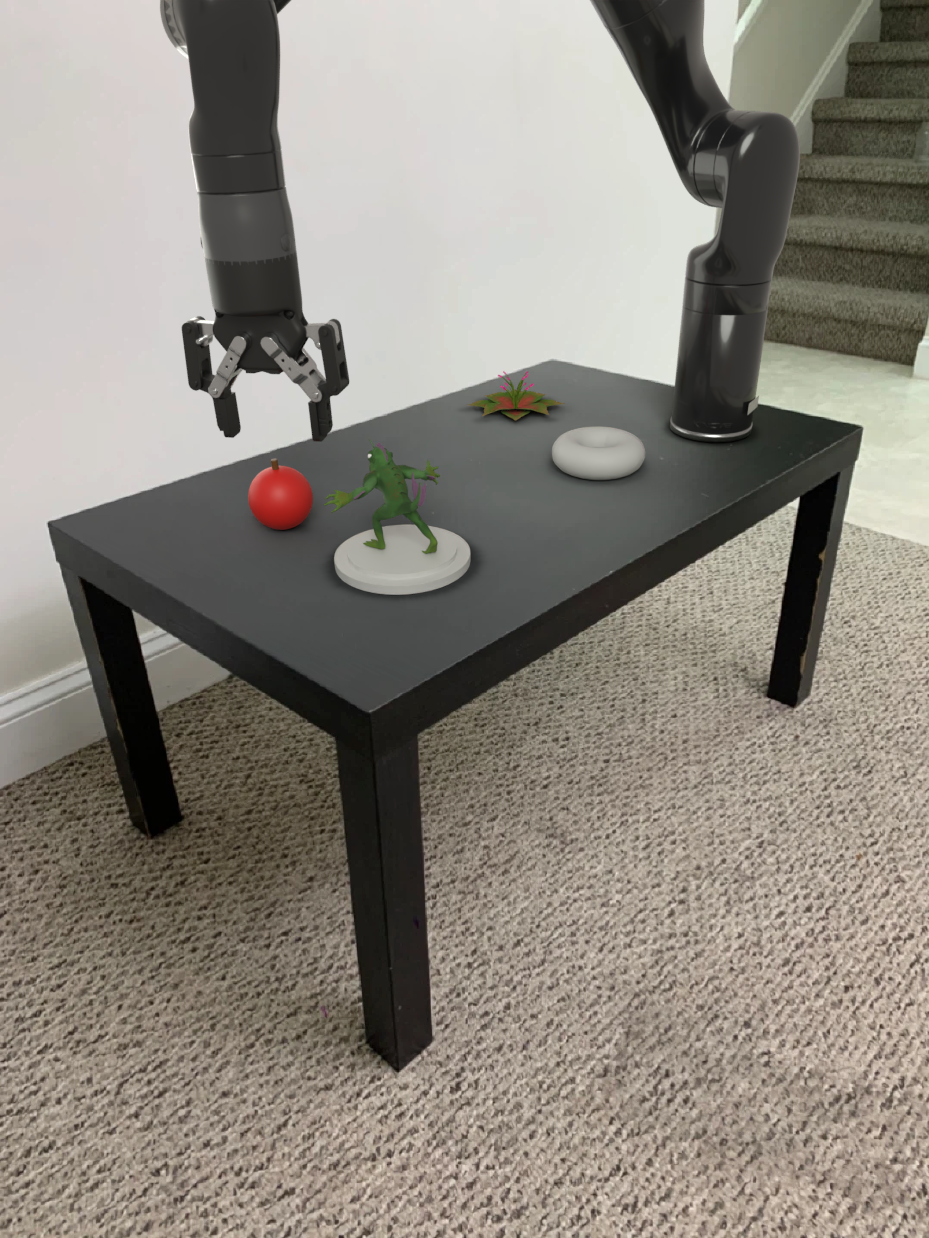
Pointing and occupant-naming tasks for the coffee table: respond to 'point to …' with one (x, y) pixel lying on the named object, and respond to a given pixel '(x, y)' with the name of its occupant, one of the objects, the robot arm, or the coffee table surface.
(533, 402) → the lily flower
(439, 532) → the monster figurine
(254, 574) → the coffee table surface
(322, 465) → the coffee table surface
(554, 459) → the donut
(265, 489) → the apple
